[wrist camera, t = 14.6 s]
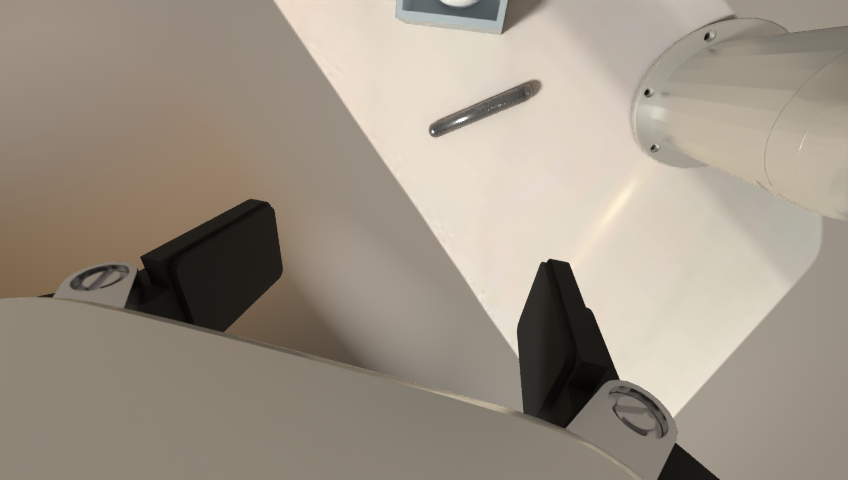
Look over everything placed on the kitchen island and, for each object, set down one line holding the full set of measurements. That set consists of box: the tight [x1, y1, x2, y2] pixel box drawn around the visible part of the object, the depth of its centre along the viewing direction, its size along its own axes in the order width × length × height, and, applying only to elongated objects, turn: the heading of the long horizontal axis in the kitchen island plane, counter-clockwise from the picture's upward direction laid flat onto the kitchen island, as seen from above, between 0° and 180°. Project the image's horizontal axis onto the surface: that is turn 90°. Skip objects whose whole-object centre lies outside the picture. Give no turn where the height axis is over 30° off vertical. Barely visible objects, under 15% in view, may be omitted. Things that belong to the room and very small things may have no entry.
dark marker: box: [429, 84, 533, 137], centre depth 33 cm, size 12×2×2 cm, turn 113°
